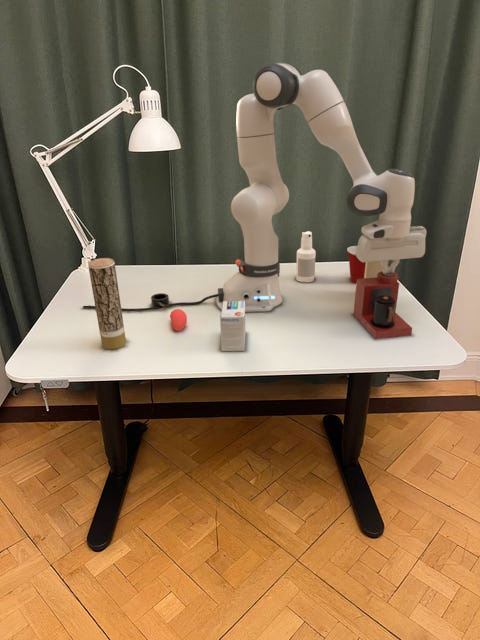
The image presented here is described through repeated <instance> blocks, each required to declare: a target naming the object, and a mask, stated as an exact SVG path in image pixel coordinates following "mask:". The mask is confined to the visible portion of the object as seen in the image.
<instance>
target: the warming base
mask: <svg viewBox="0 0 480 640" xmlns="http://www.w3.org/2000/svg"><path fill="white" fill-rule="evenodd" d="M391 289H392V288H382V289H372V296H371V306H370V311H374V307H375V299H376V298H378V297H379V296H391ZM373 316H374V315H366V316H362V318H361V323H360V324H361V325H362V326H363V327H364V329H366V330H367V332H368V333H369V334H370V335H371V336H372V337H373V338H374V340H382V339H389V338H399V337H400V338H401V337H408V336H409V337H410V336H412V332H413V327H412V326H411V325H410V324H409V323H408V322H407V321H405V319H403V318H402V317H401V316H400V315H399V314H398V313H397V312H395V313H394V317H393V324H392V325H391V326H387V327H382V326H378V325H376V324H374V323H373Z"/></svg>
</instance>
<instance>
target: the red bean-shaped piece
mask: <svg viewBox="0 0 480 640" xmlns="http://www.w3.org/2000/svg"><path fill="white" fill-rule="evenodd" d="M187 316H188V315H187V313H186V312H185V311H184V310H183V309H180V308H175V309H173V310H172V311H171V312H170V314H169V318H170V322H171V327H172V328H173V330H175V331H181V330H183V329H184V328H185V327H186V326H187V322H188V317H187Z"/></svg>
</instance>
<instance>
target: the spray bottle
mask: <svg viewBox="0 0 480 640" xmlns="http://www.w3.org/2000/svg"><path fill="white" fill-rule="evenodd" d="M300 240H301V241H300V248H297V250H296V264H295V265H296V266H295V267H296V268H295V279H296V281H297V282H300V283H311V282H313V281H314V280H315V276H316V275H315V274H316V273H315V271H316V255H317V252H316V249H314V248H313V232H312V231H310V230H307V231H305V232H303V231H302V232H301V239H300Z"/></svg>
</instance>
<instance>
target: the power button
mask: <svg viewBox="0 0 480 640" xmlns="http://www.w3.org/2000/svg"><path fill="white" fill-rule="evenodd" d="M383 276H385V277H392V276H393V273H390V274H384V273H383Z"/></svg>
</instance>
